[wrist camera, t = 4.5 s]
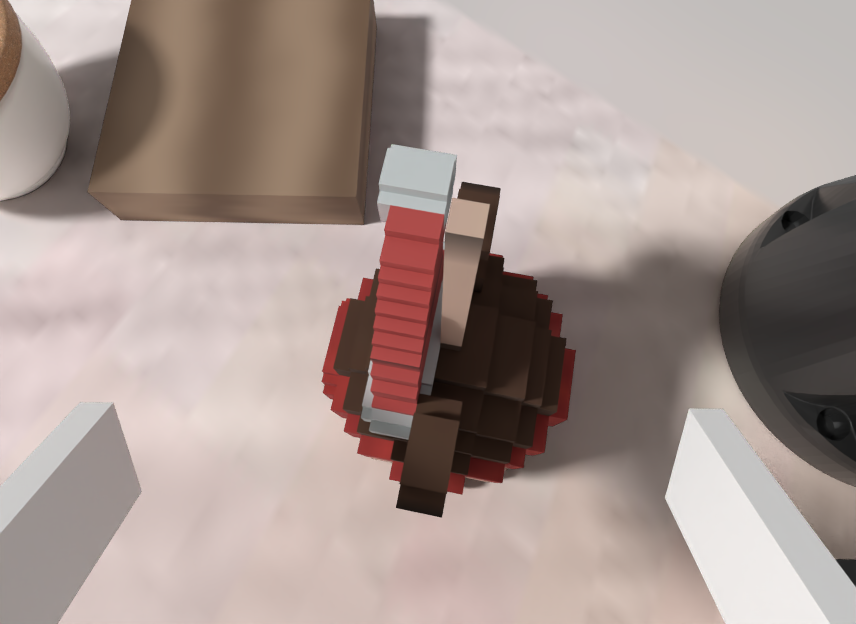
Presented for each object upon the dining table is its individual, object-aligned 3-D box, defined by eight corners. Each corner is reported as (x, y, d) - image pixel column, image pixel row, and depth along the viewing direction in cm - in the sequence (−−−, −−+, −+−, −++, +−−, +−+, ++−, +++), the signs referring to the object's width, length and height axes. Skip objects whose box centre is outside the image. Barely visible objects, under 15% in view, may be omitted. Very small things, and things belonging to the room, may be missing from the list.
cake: (525, 521, 25) (729, 613, 8) (325, 479, 26) (102, 478, 8) (556, 301, 28) (750, 15, 11) (376, 268, 29) (289, -51, 11)
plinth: (376, 26, 33) (371, -16, 30) (363, 224, 29) (356, 197, 26) (161, 24, 33) (135, -19, 30) (121, 220, 30) (87, 192, 27)
